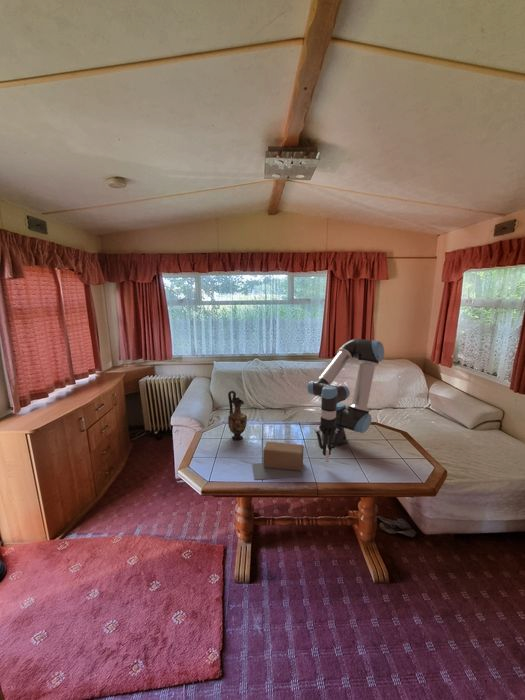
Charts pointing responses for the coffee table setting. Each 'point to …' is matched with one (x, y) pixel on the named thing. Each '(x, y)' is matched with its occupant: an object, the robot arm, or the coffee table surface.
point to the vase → (236, 417)
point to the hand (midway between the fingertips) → (326, 460)
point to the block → (283, 456)
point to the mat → (273, 472)
